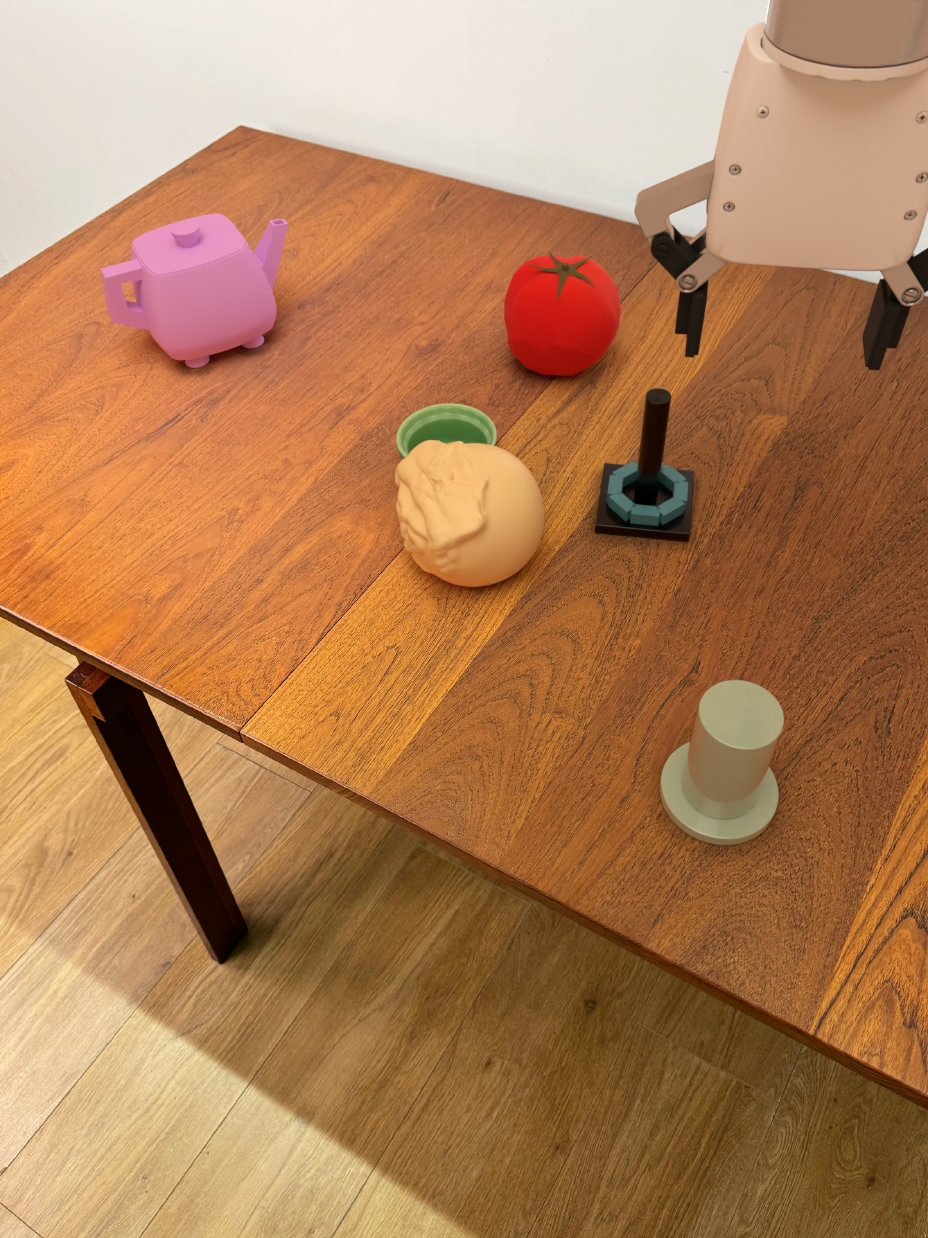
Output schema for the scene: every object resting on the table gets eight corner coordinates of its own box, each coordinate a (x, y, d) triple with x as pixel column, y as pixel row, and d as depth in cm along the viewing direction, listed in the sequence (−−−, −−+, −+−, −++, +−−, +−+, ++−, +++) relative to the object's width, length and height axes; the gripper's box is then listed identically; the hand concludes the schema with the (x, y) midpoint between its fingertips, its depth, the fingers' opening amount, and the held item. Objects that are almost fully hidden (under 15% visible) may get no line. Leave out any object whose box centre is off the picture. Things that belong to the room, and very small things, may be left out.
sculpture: (385, 530, 87) (370, 435, 79) (511, 492, 90) (510, 396, 81) (429, 624, 81) (418, 530, 72) (564, 579, 83) (569, 484, 75)
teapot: (145, 397, 101) (104, 285, 91) (111, 335, 108) (70, 226, 98) (325, 333, 107) (305, 222, 97) (281, 279, 114) (258, 170, 104)
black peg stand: (692, 478, 90) (711, 368, 81) (688, 542, 85) (708, 432, 76) (603, 470, 91) (612, 361, 82) (594, 533, 86) (603, 424, 77)
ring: (687, 474, 89) (689, 464, 88) (684, 528, 85) (686, 518, 84) (611, 467, 90) (612, 457, 89) (604, 521, 86) (604, 511, 85)
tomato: (479, 358, 103) (474, 259, 94) (558, 312, 107) (561, 214, 98) (560, 411, 97) (564, 311, 88) (641, 361, 101) (652, 260, 92)
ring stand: (775, 752, 72) (805, 669, 64) (776, 854, 67) (809, 777, 59) (662, 737, 73) (679, 655, 65) (655, 836, 68) (672, 759, 60)
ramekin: (398, 444, 95) (393, 407, 91) (492, 435, 95) (491, 398, 91) (403, 510, 89) (398, 473, 86) (503, 500, 89) (502, 463, 86)
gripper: (1061, -22, 43) (936, 320, 56) (658, -27, 46) (628, 300, 59) (1097, 50, 39) (952, 403, 52) (646, 40, 41) (617, 379, 54)
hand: (779, 348), depth 55 cm, fingers open, 9 cm apart
